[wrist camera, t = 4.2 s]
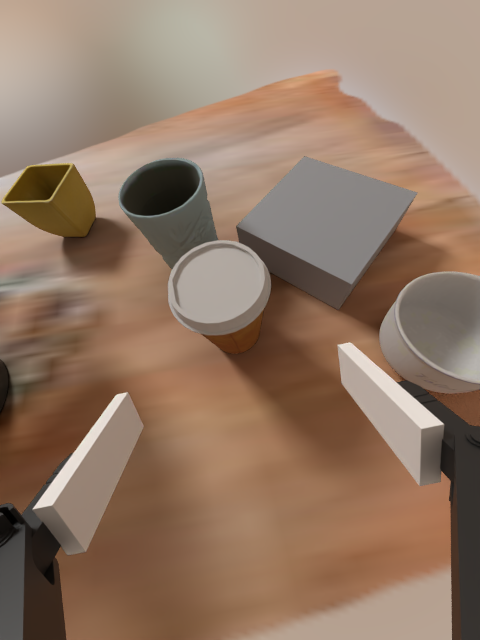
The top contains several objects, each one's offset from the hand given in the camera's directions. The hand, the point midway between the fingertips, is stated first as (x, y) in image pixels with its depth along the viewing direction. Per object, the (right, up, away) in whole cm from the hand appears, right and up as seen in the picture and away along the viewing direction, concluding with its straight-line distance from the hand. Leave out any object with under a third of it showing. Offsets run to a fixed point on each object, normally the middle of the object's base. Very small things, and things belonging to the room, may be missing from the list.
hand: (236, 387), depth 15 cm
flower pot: (-29, +21, +30) cm, 47 cm away
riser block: (+12, +16, +21) cm, 28 cm away
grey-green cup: (-7, +14, +23) cm, 28 cm away
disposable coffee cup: (0, +3, +17) cm, 17 cm away
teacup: (+22, +1, +13) cm, 26 cm away
